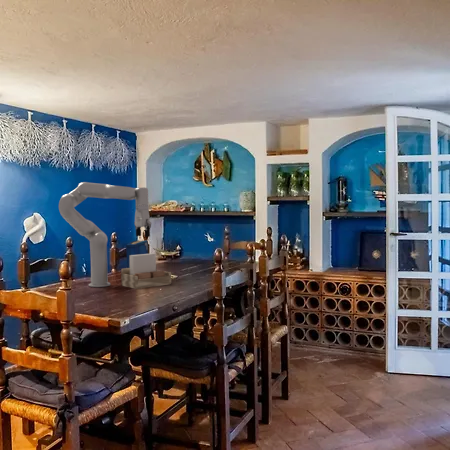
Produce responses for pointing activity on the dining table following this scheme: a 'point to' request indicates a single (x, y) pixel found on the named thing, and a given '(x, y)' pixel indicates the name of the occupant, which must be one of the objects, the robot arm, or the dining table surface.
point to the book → (136, 249)
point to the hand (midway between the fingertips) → (143, 236)
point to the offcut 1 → (143, 275)
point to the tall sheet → (142, 263)
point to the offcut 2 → (157, 274)
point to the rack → (143, 280)
